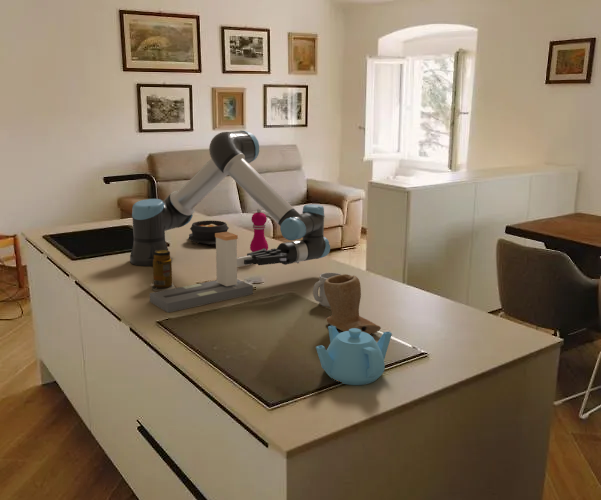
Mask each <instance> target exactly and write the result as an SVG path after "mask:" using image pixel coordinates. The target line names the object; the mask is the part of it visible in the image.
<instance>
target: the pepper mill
mask: <svg viewBox="0 0 601 500" xmlns="http://www.w3.org/2000/svg"><path fill="white" fill-rule="evenodd" d="M267 221H268V217H267V215H266V214H265V213H264V212H262V209H261V208H257V209H256V212H254V213H253V214H252V215H251V222H252V229H253V238H252V239H251V242H250V246H249V250H250V251H251V252H255V251H258V250H261V249H264V248H265V249H266V250H269V243H268V241H267V239H266V235H265V229H266V223H267Z"/></svg>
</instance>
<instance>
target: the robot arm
mask: <svg viewBox="0 0 601 500" xmlns="http://www.w3.org/2000/svg"><path fill="white" fill-rule="evenodd" d="M208 146H209V147H208V149H209V150H208V151H209V156H210V160H208V161H207V162H206V164H204V165H203V166H202V167H201V169H199V170H198V172H196V173H195V175H194V176H192V177H191V178H190V179H189V180H188V181H187V182H186V184H185V185H183V187H182V188H180V189H179V190H174V191H172V192H171V193H170V194H169V195H168V196H167V197H166V198H165V199H163V200H162V199H160V198H147V199H142V200H138V201H136V202H134V203H133V205H132V209H131V210H132V212H131V219H132V232H133V233H132V234H133V245H132V248H131V252H130V256H129V262H130V264H132V265H134V266H138V267H139V266H141V267H153V259H154V252H155V251H157V250H168V251H169V247H168V245H167V243H166V236H165V233H166V231H168V230H174V229H178V228H179V229H180V228H182V227H184V226H187V225H188V223H190V222H191V221H192V219H193V214H195V212H196V208H195V207H196V206H197V205H198V204H199V203H200V202H201V201H202V200H203V199H204V198H206V196H208V195H209V194H210V192H212V191H213V190H214V189H215V188H216V187H217V186H218V185H219V184H220V183H221V182H222V181H223V180H224V179H225V178H226V177H227V176H229V177H231V178H232V180H234V181H235V182H236V183H237V185H239V187H241V188H242V190H244V191H245V192H246V193H247V194H248V196H250V198H252V200H254V201H255V202H256V203H257V204H258V205H259V207H260V208H262V209H263V211H265V212H266V213H267V214H268V216H270V218H271V219H273V220H274V222H276V223H277V224H278V225H279V226H280V233H281V235H282V237H283V238H284V239H285V240H288V241H287V242H286V241H285V242H282V243H279V245H277V247H276V248H275V247H274V248H271V249H268V250H266V249H265V248H264V249H261V250H258V251H255V252H252V251H251V252H248V253H246V255H245V256H239V257H238V256H237V268H238V267H244V266H249V265H250V266H252V265H258V266H264V265H273V264H274V265H275V264H282V265H284V266H285V265H290V264H294V263H295V264H300V263H301V262H306V261H312V260H318V259H322V258H324V257H325V258H326V256H328V255H329V254H330V251H331V244H330V240H329V239H328V238H327V237H326V236H325V235H324V229H325V218H326V217H325V208H324V206H323V205H321V204H314V203H313V204H312V203H311V204H309V203H308V204H305V205H304V206H303V207H302V213H299V212H298V211H297V210H296V209H295V208H294V207H293V206H292V205H291V204H290V203H289V201H287V200H286V199H285V198H284V197H283V196H282V195H281V194H280V193H279V192H278V191H277V190H276V189H275V188H274V187H273V186H272V185H271V184H270V183H269V182H268V180H266V179H265V178H264V177H263V176H262V175H261V174H260V173H259V172H258V171H257V170H256V169H255V168H254V167H253V166H252V165H251V163H252V162H253V161H255V160H256V159H257V158H258V156H259V153H260V143H259V140H258V138H257V137H256V135H254V133H252V132H250V131H247V130H235V131H222V132H220V133H217V134H216V135H214V136H213V138H212V139H211V140H210V144H209V145H208Z"/></svg>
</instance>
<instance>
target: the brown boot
mask: <svg viewBox="0 0 601 500" xmlns="http://www.w3.org/2000/svg"><path fill="white" fill-rule="evenodd" d="M361 287H362V286H361V281H360V279H359V277H358V276H357V275H355V274H354V275H350V274H345V273H343V274H342V275H336V276H333V277H329V278H327V279H326V280H325V282H324V291H325V295H326V298H327V300H328V302H329V305H330V307H329V308H330V310H331V316H330V315H329V316H328V317H326V322H327V323H328V324H329V326H335V327H336V329H338V330H340V332H345V331H349V329H352V328H357V329H360V330H361V332H365V333H368V334H371V333H373V334H376V333H378V332H379V331H381V329H382V328H381V326H380V325H378V324H376V323H374V322H372V321H370V320H369V319H367V318H365V317H362V316H361V315H360V303H361V299H362V298H361V297H362V291H361V290H362V288H361ZM371 335H372V334H371Z"/></svg>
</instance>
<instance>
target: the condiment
mask: <svg viewBox="0 0 601 500" xmlns="http://www.w3.org/2000/svg"><path fill="white" fill-rule="evenodd" d="M172 270H173V269H172V259H171V252H170V251H169V249H168V250H157V251H155V252H154V259H153V266H152V274H153V275H152V278H153V283H152V282H151V283H150V286H151V288H152V290H153V292H158V291H164V290H169V289H174V288H176V286H175V285H174V283H173V271H172Z"/></svg>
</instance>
